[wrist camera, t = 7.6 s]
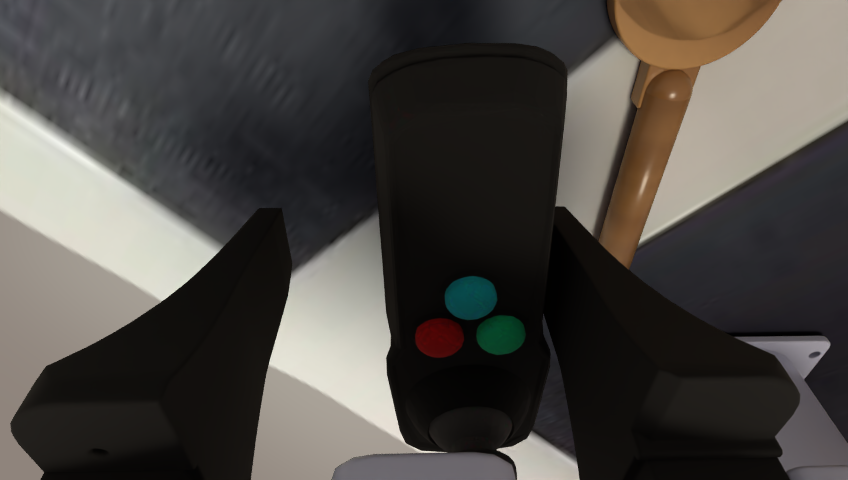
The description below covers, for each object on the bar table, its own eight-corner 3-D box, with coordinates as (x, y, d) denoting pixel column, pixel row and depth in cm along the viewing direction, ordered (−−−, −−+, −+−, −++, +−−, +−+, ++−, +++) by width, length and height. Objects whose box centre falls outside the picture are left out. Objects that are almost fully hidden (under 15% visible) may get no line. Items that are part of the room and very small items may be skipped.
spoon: (660, 292, 23) (672, 316, 22) (525, 294, 23) (530, 318, 22) (882, -227, 12) (927, -229, 11) (628, -232, 12) (649, -235, 11)
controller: (399, 283, 23) (397, 534, 15) (368, -36, 15) (330, 151, 7) (500, 278, 23) (550, 527, 15) (524, -44, 15) (658, 134, 7)
